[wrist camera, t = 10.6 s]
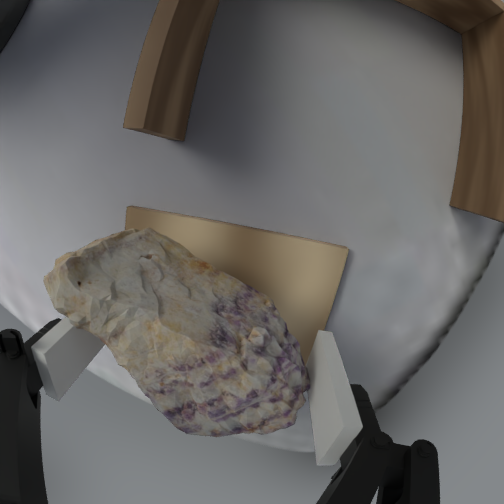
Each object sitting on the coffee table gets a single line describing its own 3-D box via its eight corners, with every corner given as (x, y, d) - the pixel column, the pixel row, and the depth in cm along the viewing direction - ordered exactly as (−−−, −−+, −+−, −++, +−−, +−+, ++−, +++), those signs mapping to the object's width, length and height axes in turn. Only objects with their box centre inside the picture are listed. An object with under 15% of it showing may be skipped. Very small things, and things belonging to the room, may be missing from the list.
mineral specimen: (87, 303, 16) (29, 356, 10) (124, 204, 14) (47, 231, 8) (256, 400, 17) (252, 477, 11) (324, 324, 15) (350, 404, 9)
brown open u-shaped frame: (168, 139, 16) (122, 127, 10) (221, -43, 12) (207, -91, 6) (459, 208, 16) (514, 226, 10) (469, 31, 12) (511, 9, 6)
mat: (127, 323, 20) (123, 327, 19) (130, 205, 17) (126, 206, 17) (309, 362, 20) (310, 367, 19) (346, 246, 17) (348, 249, 17)
